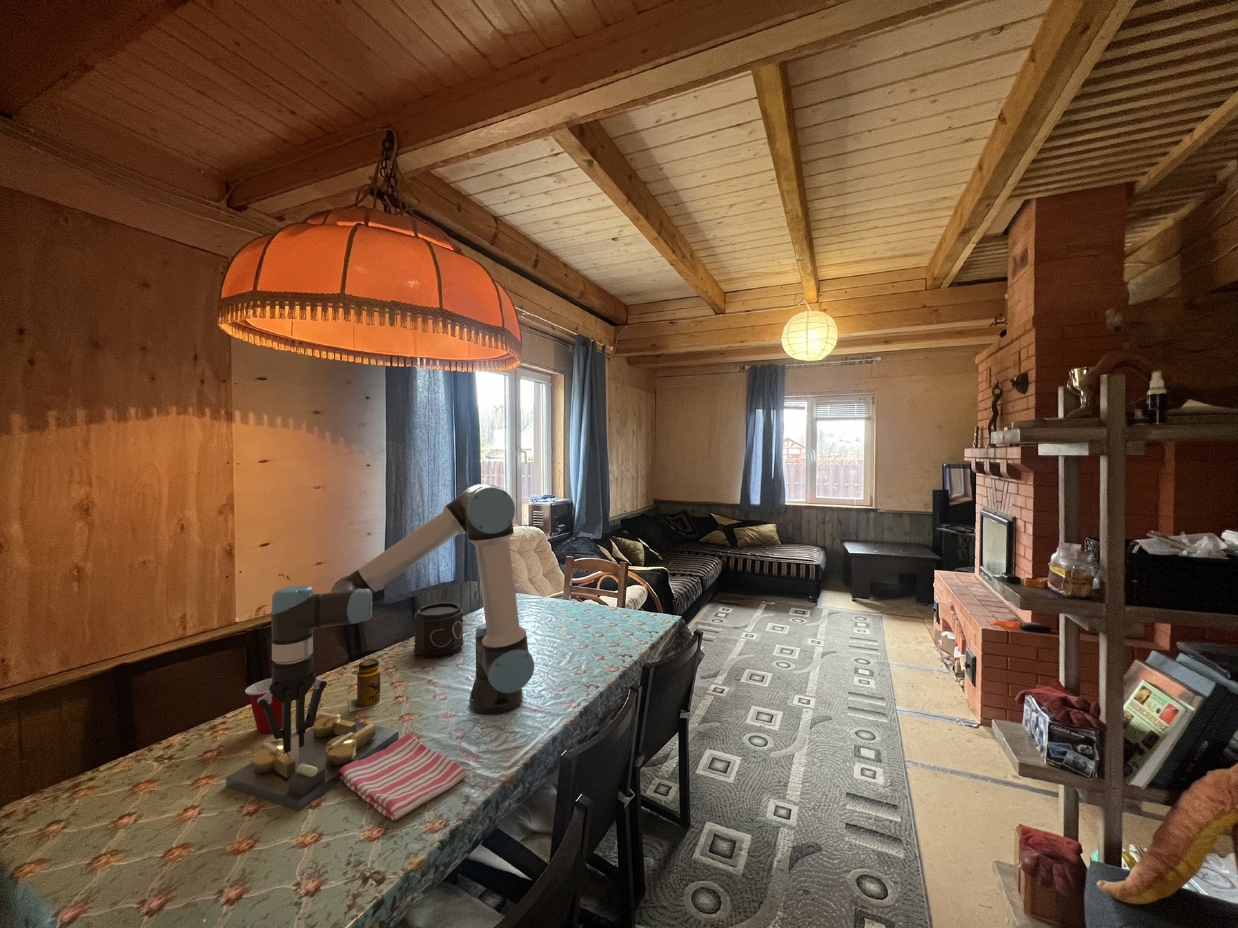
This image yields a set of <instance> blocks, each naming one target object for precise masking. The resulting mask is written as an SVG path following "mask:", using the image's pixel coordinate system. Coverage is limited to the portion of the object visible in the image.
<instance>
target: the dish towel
mask: <svg viewBox="0 0 1238 928" xmlns="http://www.w3.org/2000/svg"><path fill="white" fill-rule="evenodd" d="M339 772H340V773H341V774H342V775H341V776H340V779H341V781H342V782H344V784H345V786H347V787H348V788H349V789H350V790H351V791H353V792H354V793H356V794H358V795H359V797H360V798H362V800H363V801H365V802H367V803H368V804H370V805H372V806H373V807H374V809H375V810H377V811H378V813H380V814H381V815H383V816H384V817H387V818H389V819H391V820H392V821H397V820H399V819H401V818H402V817H405V816H406V815H407V814H410V813H411V812H412V811H414V810H416V809H417V808H420V807H421V806H422V805H424V804H426V803H428V802H429V801H431V800H433V799H434V798H436V797H438V796H440V795H441V794H443V793H445V792H446V791H447V790H450V789H452V787H454V786H455V785H457V784H458V783H459V782H461V781H462V780H463V779H464V780H465V779H466V778H467V775H468V772H467V770H466V769H465V768H464V766H461V765H459V764H458V763H457V762H455V761H454V760H452V759H451V758H449V757H446V756H445V755H441V754H440V753H439V752H437V751H436V750H434V749H431V748H430V747H427V746H425V745H424V744H423V743H422V742H421V741H420V740H419V739H418V738H416V737H414V736H412V733H411V732H407V733H406V734H404V735H402V736H401V738H398V740H396V741H395V742H393V743H392V744H391V745H389V746H388V747H387V748H385V749H384V750H382V751H379V752H377V753H375V754H373V755H371V756H369V757H367V758H365V759H362V760H358V761H355V762H352V763H349V764H347V765H344V766H343V767H342V768H341V769H340V770H339Z"/></svg>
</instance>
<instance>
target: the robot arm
mask: <svg viewBox="0 0 1238 928" xmlns="http://www.w3.org/2000/svg"><path fill="white" fill-rule="evenodd" d="M515 506H516V505H515V502H514V499H513V497H512V496H511V495H510V494H509V493H508V492H507V491H506V490H505V489H504V488H502V487H500V486H497V485H493V484H487V483H486V484H484V483H481V484H480V483H478V484H474V485H472V486H470V487H468V488H467V489H466V490H464V491H463V492H462V493H461V494H460V495H458V496H456V497H455V498H454V499H453V500H452V501H450V502H449V503H447V504H446V505H444V506H443V511H442V512H441V513H439V514H438V515H436V516H435V517H433V518H432V519H430V520H429V521H427V522H426V523H424V524H423V525H421V526H420V527H418V528H417V529H415V530H414V531H412V532H411V533H409V534H408V535H406V536H405V537H403V538H402V539H400V540H399V541H398V542H396V543H395V544H393V545H392V546H390V547H389V548H387V549H385V550H384V551H383V552H382V553H379V554H378V555H377V556H376V557H374V558H373V559H371V560H370V561H368V562H367V563H365V564H364V565H362V566H361V567H359V568H358V569H357V570H355V571H353V572H352V573H350V574H349V575H345V576H342V577H341V578H340V579H338V580H337V581H336V582H335V583H334V584H333V586H332V587H331V590H330V592H326V593H314V591H313V587H312V586H311V585H300V584H299V585H291V586H285V587H282V588H280V589H278V590H275V592H274V593H273V594H272V597H271V599H272V600H271V601H272V602H271V611H270V615H271V616H270V618H271V620H270V621H271V660H272V661H273V662H272V664H271V678H272V684H271V686H270V688H269V691H268V692H267V693H266V694H265V695H264V696H260V697H258V698H257V702H258V704H259V706H260V707H262V708H263V709H264V711H265V714H266V717H267V720H268V723H269V725H270V728H271V731H272V733H271V734H272V736H273V738H274V740H279V739H282V741H283V750H284V752H285V753H287V752H289V758H291V759H293V760H294V761H295V766H297V765H299V748H300V747H303V746H304V734H305V732H306V730H308V729H310V728H311V729H312V728H313V725H314V722H315V718H316V716H317V715H318V714H317V713H318V711H319V710H318V709H319V706H320V703H321V698H322V694H323V692H324V691H325V688H326V687H327V685H328V681H326V680H325V679H324V678H317V677H316V675H315V673H314V655H313V652H314V631H313V630H314V629H319V628H326V627H327V628H328V627H335V626H343V625H350V624H351V625H352V624H354V625H355V624H359V623H363V622H366V621H369V620H371V619H372V617H373V595H374V594H375V593H376V592H378V591H379V590H380V589H382V588H384V587H385V586H387V585H389V583H391V582H392V581H394V580H395V579H397V578H398V577H399V576H400V575H402V574H404V573H405V572H406V571H408V570H409V569H410V568H412V567H413V566H415V565H416V564H418V563H420V562H421V561H422V560H423V559H425V558H426V557H428V556H429V555H430V554H432V553H434V552H435V551H436V550H437V549H439V548H441V547H442V546H443V545H445V544H446V543H448V542H449V541H450V540H452V539H453V538H454V537H456V536H457V535H460V534H462V535H466V534H467V538H468V541H469V542H470V543H471V544H473V545H474V546H475V551H476V552H475V553H476V559H477V568H478V569H477V570H478V575H479V582H480V589H481V591H480V592H481V597H482V605H483V615H484V621H485V623H482V624H480V625H479V626H477V628H476V629H475V635H474V639H475V678H474V682H473V685H472V688H471V692H470V693H469V694H470V695H469V709H470V710H471V711H472V712H474V713H476V714H479V715H485V716H487V715H488V716H493V715H495V716H496V715H500V714H504V713H507V712H510V711H512V710H514V709H516V708H517V707H519V706H520V704H522V702H523V699H524V698H523V694H524V693H523V688H524V687H525V686H526V685H527V684H528V683H529V681H530V680H531V679H532V677H533V675H534V672H535V662H534V658H533V655H532V654H531V653H530V651H529V644H528V636H527V631H526V629H524V628H523V627H521V626H520V619H519V611H518V603H517V594H516V586H515V581H514V572H513V571H514V570H513V562H512V556H511V555H512V554H511V547H510V539H511V538H512V536H513V535H514V534H515V532H514V525H513V524H514V523H513V522H514V518H515V514H516V507H515ZM312 687H313V690H312V693H311V697H310V700H309V705H308V709H307V713H306V712H305V703H306V695H307V694H308V693H309V691H310V690H311V689H312ZM272 696H274V697H276V698H277V699H278V700H279V701H280V702H282V728H281V729H279V727H278V724H277V721H276V718H275V715H274V712H273V709H272V707H271V705H270V703H271V702H272V699H271V698H272ZM293 701H295V730H294V731H292V702H293ZM305 713H306V716H305Z"/></svg>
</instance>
